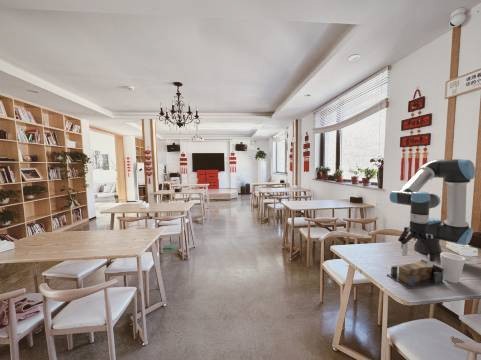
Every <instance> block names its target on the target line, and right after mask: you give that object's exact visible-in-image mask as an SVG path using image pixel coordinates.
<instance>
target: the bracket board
mask: <svg viewBox="0 0 481 360" xmlns="http://www.w3.org/2000/svg"><path fill="white" fill-rule="evenodd" d="M421 261H422V262H425V263H427V260H424V259H420V262H421ZM398 271H399V266H397V265H392V266H391V270H390V273H388V274H386V276H388V277H389V278H390V279H392V280H394V281H396V282H397V283H398V284H401V285H403V286H404V287H406V288H408V289H410V290H411V289H417V288H424V287H430V286H431V287H432V286H438V285H439V286H440V285H445V284H446V283H445V282H444V279H443V274H444V268H441V266H438V265H436V264H434V263H433V267H432V275H431V278H429V279H425V280H421V281H417V282H415V278H416V276H415V275H409V280H408V284H407V283H405V282H403V281H401V280H399V279H398V275H399V272H398Z"/></svg>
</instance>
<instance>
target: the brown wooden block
mask: <svg viewBox="0 0 481 360" xmlns="http://www.w3.org/2000/svg"><path fill="white" fill-rule="evenodd" d="M398 273H399V275H398V279H399V280H401V281H403V282H405V283H407V284H408V280H409V275H415V276H416V278H415V282H417V281H421V280H425V279H429V278H431V275H432V267H427V263H425V262H422V261H421V260H420V261H417V262H413V263H409V264H402V265H399V266H398Z"/></svg>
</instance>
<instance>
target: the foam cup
mask: <svg viewBox="0 0 481 360" xmlns="http://www.w3.org/2000/svg"><path fill="white" fill-rule="evenodd" d="M439 258H440V267H441V268H444V274H443V281H446V282H449V283H452V284H453V283H454V284H458V283H459V282H460V279H461V276H462V273H463V269H464V266H465V264H466V258H465V257H464V256H463V255H459V254H456V253H451V252H442V253H441V254H440V255H439Z"/></svg>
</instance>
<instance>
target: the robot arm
mask: <svg viewBox="0 0 481 360" xmlns="http://www.w3.org/2000/svg"><path fill="white" fill-rule="evenodd" d="M475 174H476V168H475V165H474V163H473V161H472V160H470V159H461V158H458V159H457V158H455V159H448V158H447V159H434V160H431V161H429V162H426V163H424V164H422V165H420V167H419V168H418V169H417V170H416V173H415V175H413V176H412V177H411V178H410V179H409V180H408V181H407V182H406V183H405V184H404V185H403V186H402V187H401V188H400V189H399V190H392V191H391V192H390V193H389V200H390V203H393V204H397V205H403V206H410V211H409V213H410V215H409V220H410V221H409V226H405V227H404V228H403V231H402V233H401V234H400V236H399V238H398V239H397V241H398V242H400V243H401V247H400V248H401V250H402V251H401V255H402V256H403V257H404V256H408V250H409V249H408V247H409V244H408V242H410V241H411V240H413V239H416V241H415V242H414V245H413V249H414V250H415V251H416V252H417V253H421V254H424V255H427V259H426V261H427V267H433V264H434V262H435V261H436V256H439V257H440V254H441V253H443V250H442V246H441V243H440V241H444V242H448V243H453V244H455V245H456V244H457V245H461V246H462V245H463V246H466V245H468V244H469V243H470V242H471V240H472V238H473V237H472V236H473V233H474V229H473V227H470V223H469V222H468V221H467V220H466V219H467V217H466V216H467V186H468V184H469V183H471V181H472V180H474V179H475V177H476V176H475ZM434 178H437V179H438V178H440V179H441V178H442V179H443V182H444V183H445V184H446V185H447V186H446V187H447V189H446V190H447V191H446V193H447V194H446V196H447V197H446V219H445V220H443V222H442V220H441V219H439V218H429V217H430V210H431V209H433V208H436V207H438V206H440V204H441V198H440V197H439V196H438V195H437V194H435V193H429V192H426V191H420V190H421V189H422V188H423V187H424V186H425V185H426V183H428V181H432V180H433V179H434ZM408 234H409V235H408Z"/></svg>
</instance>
